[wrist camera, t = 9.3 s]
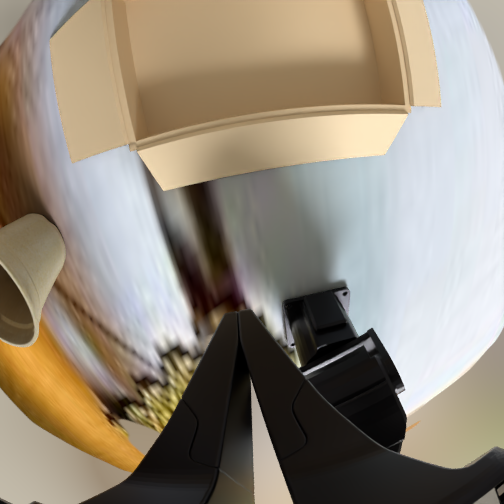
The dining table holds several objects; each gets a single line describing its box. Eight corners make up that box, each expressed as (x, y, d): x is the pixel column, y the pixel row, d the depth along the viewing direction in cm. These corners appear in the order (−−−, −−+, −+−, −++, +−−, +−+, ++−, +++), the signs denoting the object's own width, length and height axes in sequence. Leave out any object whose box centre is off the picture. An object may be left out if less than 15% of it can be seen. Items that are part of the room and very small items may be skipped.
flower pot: (-5, 227, 18) (-56, 274, 11) (41, 173, 17) (-27, 215, 9) (46, 297, 23) (10, 356, 15) (99, 260, 21) (59, 330, 14)
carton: (440, 151, 19) (468, 162, 16) (89, 211, 19) (68, 232, 16) (417, -8, 11) (444, -16, 8) (51, 35, 11) (24, 29, 8)
